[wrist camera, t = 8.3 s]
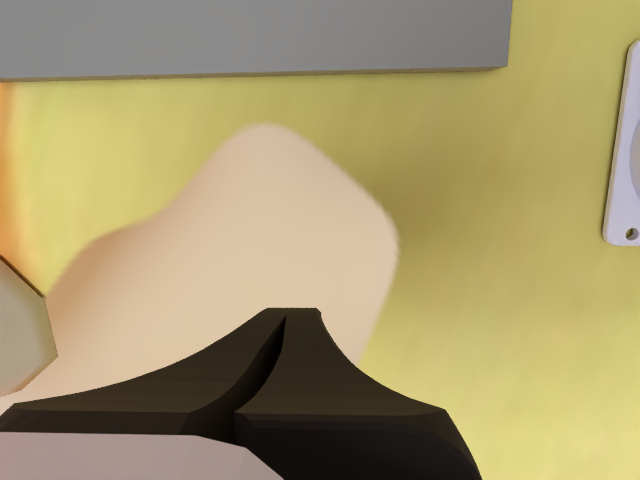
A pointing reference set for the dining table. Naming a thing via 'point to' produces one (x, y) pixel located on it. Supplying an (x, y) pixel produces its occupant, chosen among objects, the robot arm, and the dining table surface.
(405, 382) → the dining table surface
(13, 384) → the flask
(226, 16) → the button board
